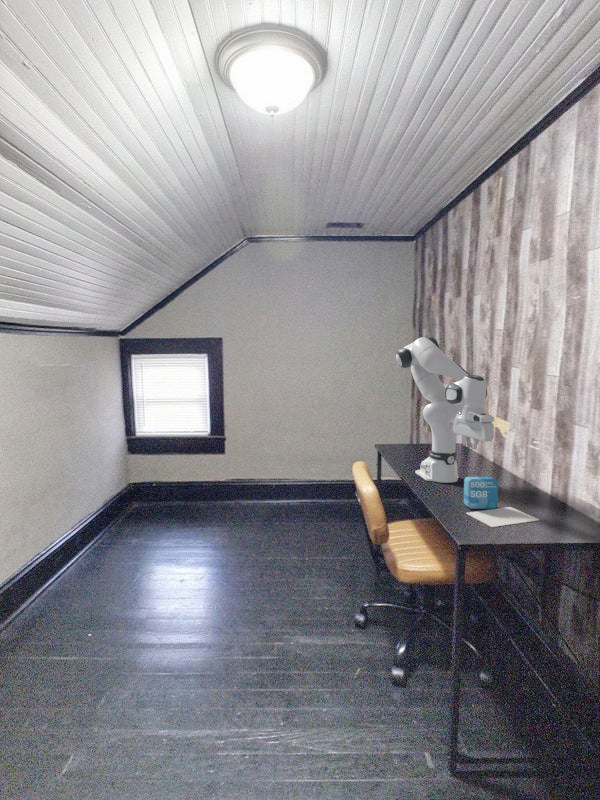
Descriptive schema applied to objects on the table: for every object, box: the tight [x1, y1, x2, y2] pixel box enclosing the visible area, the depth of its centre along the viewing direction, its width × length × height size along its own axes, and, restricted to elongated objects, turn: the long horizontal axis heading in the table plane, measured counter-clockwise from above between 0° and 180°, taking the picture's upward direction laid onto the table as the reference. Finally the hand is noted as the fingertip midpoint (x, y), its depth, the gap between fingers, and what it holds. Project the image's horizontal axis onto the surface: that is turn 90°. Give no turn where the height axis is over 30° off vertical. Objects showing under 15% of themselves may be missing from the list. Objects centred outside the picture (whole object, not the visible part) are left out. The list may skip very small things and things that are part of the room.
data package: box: [463, 476, 499, 510], centre depth 172 cm, size 12×4×12 cm, turn 92°
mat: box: [465, 506, 540, 528], centre depth 162 cm, size 14×22×1 cm, turn 108°
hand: (471, 447), depth 176 cm, fingers closed
